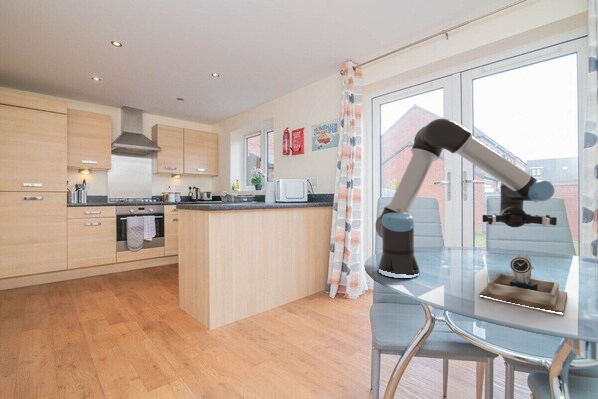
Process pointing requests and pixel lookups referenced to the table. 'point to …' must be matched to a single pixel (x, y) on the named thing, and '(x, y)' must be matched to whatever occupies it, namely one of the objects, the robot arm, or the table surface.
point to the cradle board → (527, 293)
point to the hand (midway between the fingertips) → (520, 221)
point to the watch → (522, 273)
